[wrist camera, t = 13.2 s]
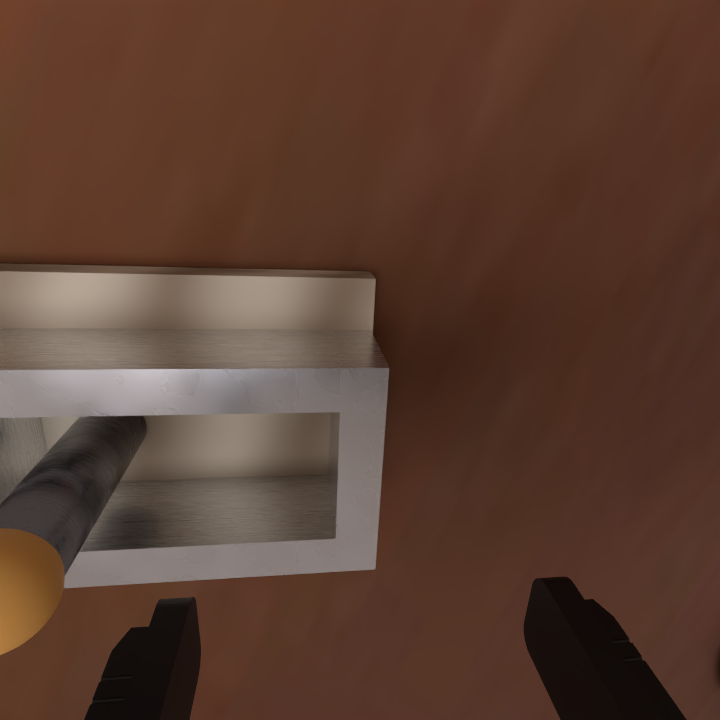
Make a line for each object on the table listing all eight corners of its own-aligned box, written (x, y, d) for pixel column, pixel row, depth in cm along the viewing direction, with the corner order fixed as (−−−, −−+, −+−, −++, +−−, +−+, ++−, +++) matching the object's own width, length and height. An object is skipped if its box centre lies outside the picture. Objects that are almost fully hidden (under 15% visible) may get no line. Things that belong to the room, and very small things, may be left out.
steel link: (370, 329, 19) (389, 368, 15) (361, 501, 21) (375, 569, 18) (-25, 328, 17) (-116, 370, 13) (22, 515, 20) (-42, 594, 16)
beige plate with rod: (370, 271, 19) (451, 375, 9) (357, 516, 24) (403, 771, 13) (-71, 261, 17) (-592, 382, 7) (2, 532, 21) (-260, 849, 11)
